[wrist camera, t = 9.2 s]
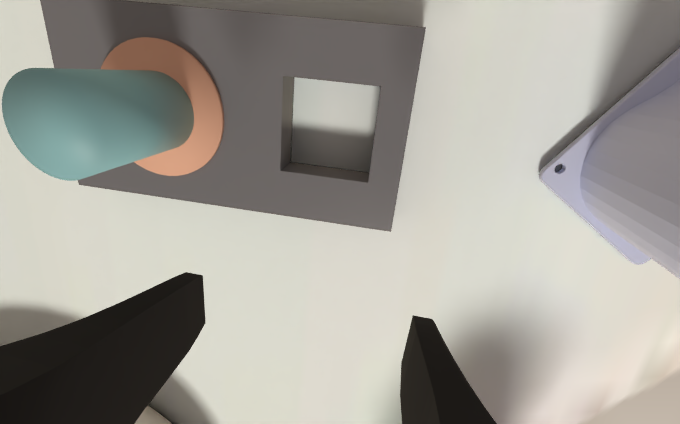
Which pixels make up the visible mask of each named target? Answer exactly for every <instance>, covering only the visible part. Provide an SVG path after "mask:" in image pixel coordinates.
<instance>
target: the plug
mask: <svg viewBox="0 0 680 424" xmlns="http://www.w3.org/2000/svg"><path fill="white" fill-rule="evenodd" d="M2 111H3V117H4V121H5V124H6V127H7V130H8V132H9V134H10V136H11V138H12V140H13V142H14V143H15V145H16V146H17V148H18V149H19V151H20V152H21V153H22V154H23V155H24V156H25V158H26V159H27V160H28V161H30V162H31V163H32V164H33V165H34V166H35V167H37V168H38V169H40V170H41V171H43V172H44V173H46V174H48V175H50V176H53V177H55V178H58V179H62V180H80V179H83V178H86V177H89V176H92V175H95V174H98V173H101V172H104V171H107V170H110V169H113V168H116V167H119V166H123V165H126V164H129V163H132V162H135V161H138V160H141V159H144V158H147V157H150V156H153V155H156V154H159V153H162V152H165V151H168V150H171V149H174V148H177V147H179V146H181V145H182V144H184V143H185V142H186V141H187V140H188V138H189V137H190V135H191V133H192V130H193V125H194V112H193V107H192V104H191V101H190V99H189V97H188V95H187V93H186V92H185V90H184V89H183V88H182V86H181V85H180V84H179V83H178V82H177V81H176V80H174V79H173V78H172V77H170V76H168V75H166V74H164V73H162V72H158V71H152V70H105V69H58V68H29V69H25V70H22V71H20V72H18V73H16V74H15V75H14V76H13V77H12V78H11V79H10V80H9V81H8V83H7V85H6V87H5V89H4V93H3V97H2Z"/></svg>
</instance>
